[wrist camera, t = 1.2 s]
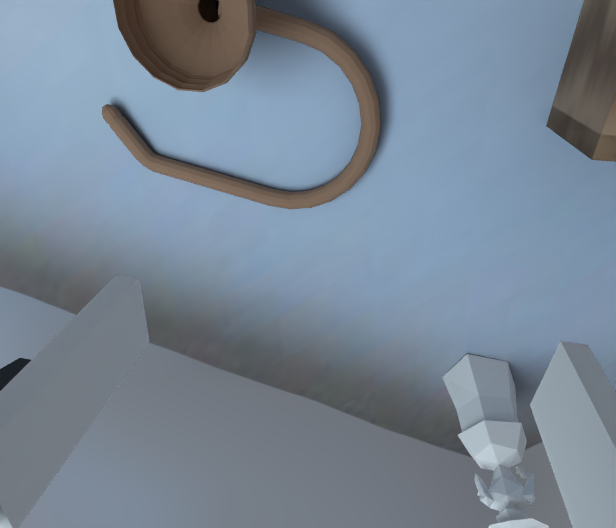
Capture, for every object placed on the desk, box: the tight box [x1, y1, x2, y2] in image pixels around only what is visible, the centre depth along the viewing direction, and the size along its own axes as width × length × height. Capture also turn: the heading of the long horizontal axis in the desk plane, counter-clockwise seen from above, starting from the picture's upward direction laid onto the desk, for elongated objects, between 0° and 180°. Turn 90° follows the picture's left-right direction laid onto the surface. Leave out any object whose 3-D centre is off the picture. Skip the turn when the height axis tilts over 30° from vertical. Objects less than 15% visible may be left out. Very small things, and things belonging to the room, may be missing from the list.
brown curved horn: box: [102, 0, 381, 209], centre depth 33 cm, size 24×9×19 cm
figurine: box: [442, 354, 549, 528], centre depth 40 cm, size 7×8×18 cm
